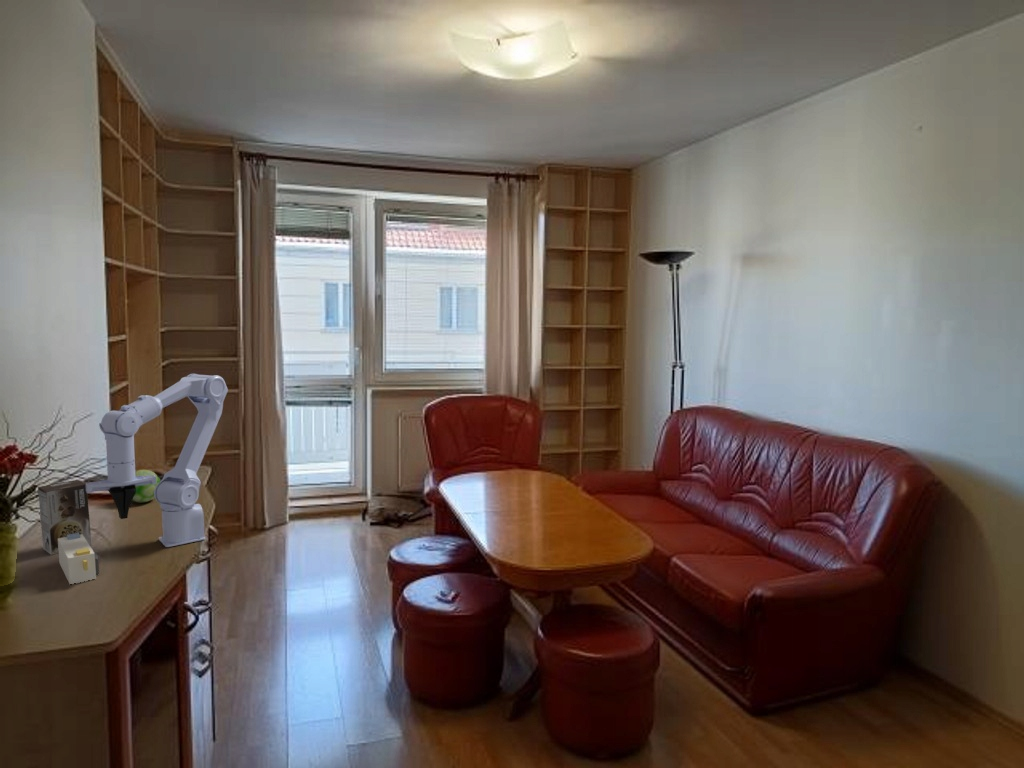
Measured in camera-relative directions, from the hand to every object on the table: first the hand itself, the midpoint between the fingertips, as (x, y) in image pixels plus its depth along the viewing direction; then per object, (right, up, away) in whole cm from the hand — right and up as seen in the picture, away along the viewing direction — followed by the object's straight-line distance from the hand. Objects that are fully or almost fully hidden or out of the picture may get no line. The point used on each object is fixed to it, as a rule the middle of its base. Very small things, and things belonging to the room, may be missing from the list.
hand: (123, 517), depth 164 cm
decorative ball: (-21, -5, +48) cm, 52 cm away
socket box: (-7, -11, -6) cm, 14 cm away
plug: (-4, -12, -7) cm, 14 cm away
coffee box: (-19, -9, +9) cm, 23 cm away
